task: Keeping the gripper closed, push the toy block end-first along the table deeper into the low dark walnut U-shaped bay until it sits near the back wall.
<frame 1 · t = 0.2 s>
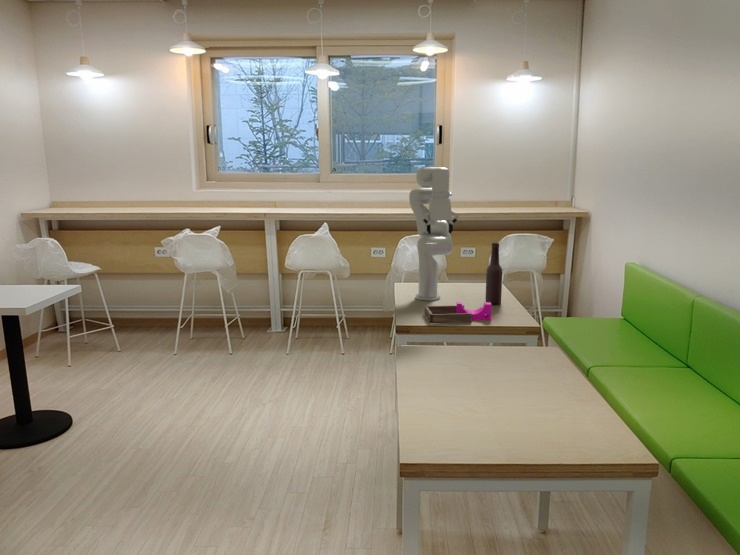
hand: (439, 233, 269), 37 cm above the table, tool pointing down, fingers open, 9 cm apart
walnut bay: (443, 318, 262), on the table
beer bottle: (493, 303, 289), on the table
toy block: (473, 319, 263), on the table
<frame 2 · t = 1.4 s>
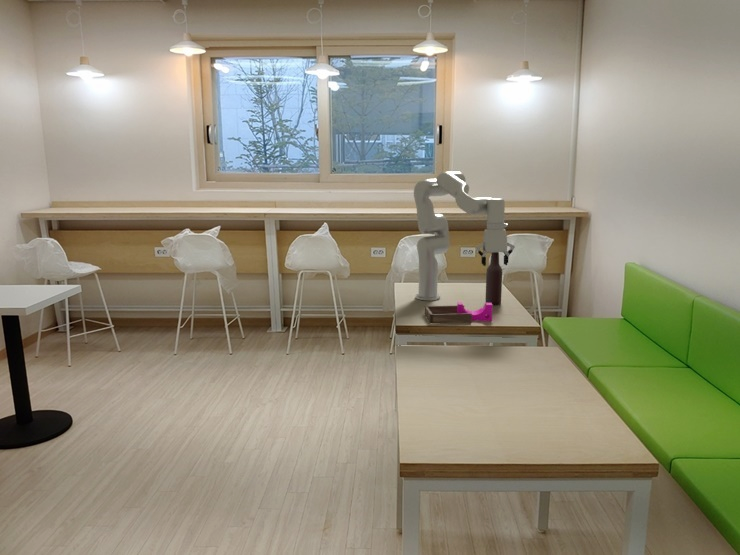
hand: (494, 265, 261), 24 cm above the table, tool pointing down, fingers open, 9 cm apart
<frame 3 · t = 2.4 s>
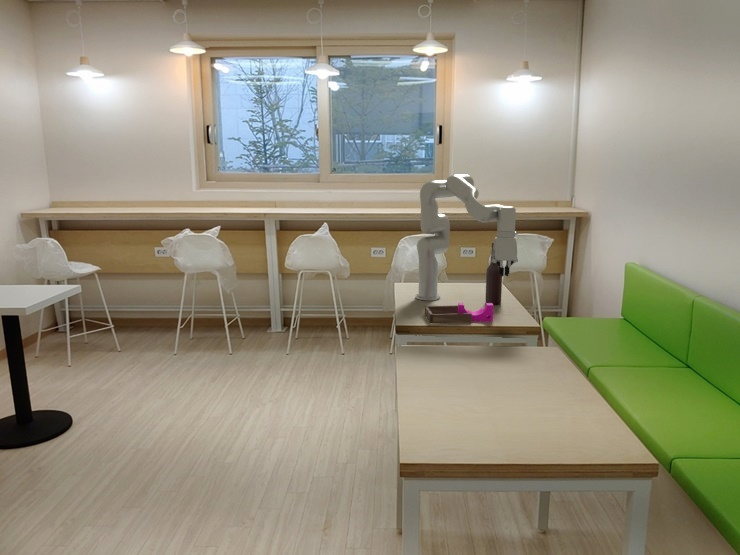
hand: (504, 275, 260), 19 cm above the table, tool pointing down, fingers closed
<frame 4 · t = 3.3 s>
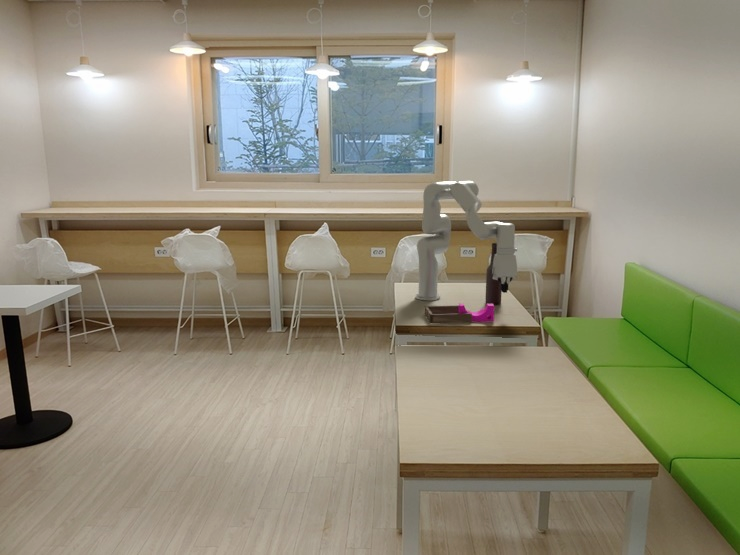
hand: (504, 292, 262), 12 cm above the table, tool pointing down, fingers closed
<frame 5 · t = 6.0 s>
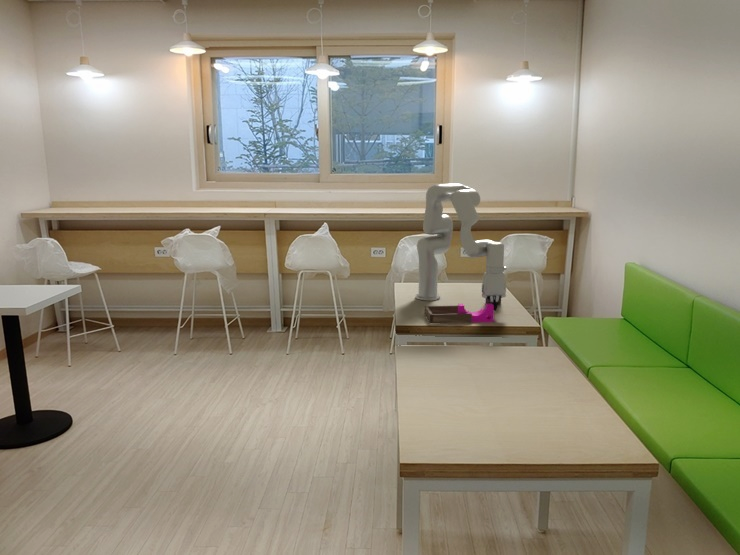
hand: (493, 310, 263), 3 cm above the table, tool pointing down, fingers closed
toy block: (474, 320, 260), on the table, touching gripper
everything else where it was.
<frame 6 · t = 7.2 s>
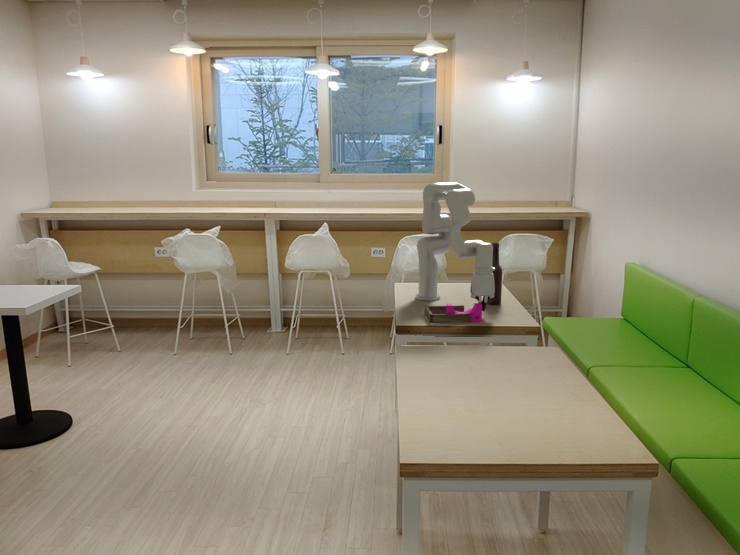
hand: (481, 310, 263), 3 cm above the table, tool pointing down, fingers closed
toy block: (463, 320, 260), on the table, touching gripper, walnut bay
everything else where it was.
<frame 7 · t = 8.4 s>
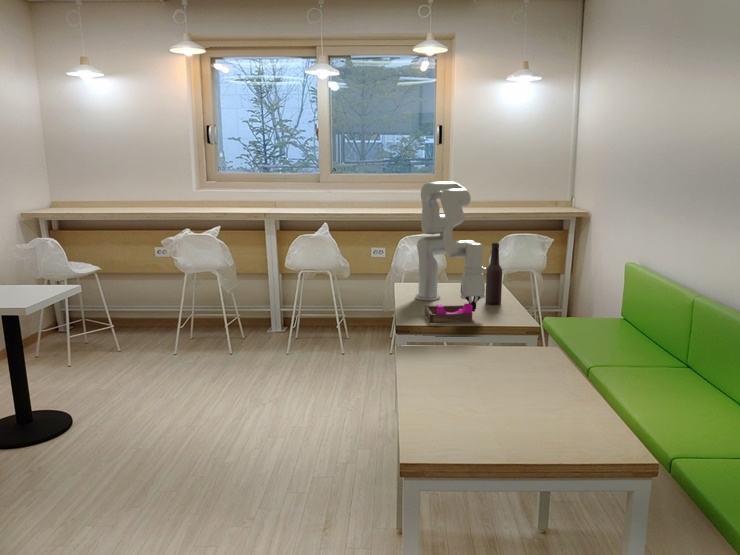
hand: (472, 310, 262), 3 cm above the table, tool pointing down, fingers closed
toy block: (453, 321, 260), on the table, touching gripper, walnut bay
everything else where it was.
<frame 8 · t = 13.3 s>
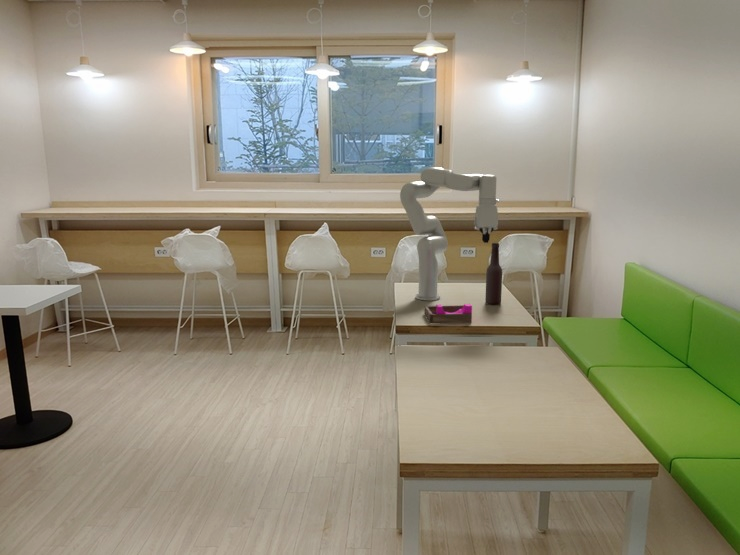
hand: (485, 242, 270), 32 cm above the table, tool pointing down, fingers closed
toy block: (453, 321, 260), on the table
everything else where it was.
at the end: toy block inside the target area on the walnut bay (3.6 cm from its centre), point -0.5 cm above the walnut bay's base; toy block tilted 0°; beer bottle moved 0.2 cm from its start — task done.
